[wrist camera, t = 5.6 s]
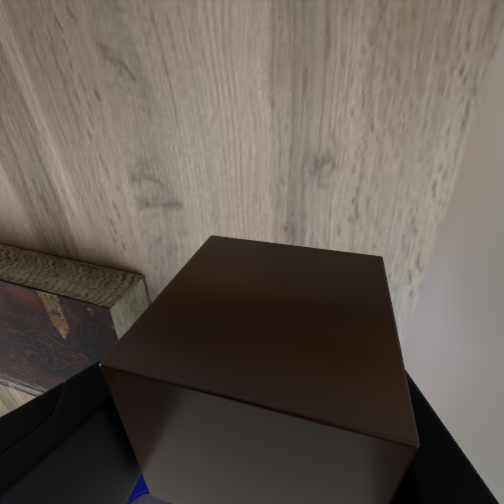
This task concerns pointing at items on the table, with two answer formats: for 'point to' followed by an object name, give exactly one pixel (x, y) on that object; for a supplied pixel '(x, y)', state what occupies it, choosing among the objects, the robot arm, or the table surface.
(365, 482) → the block
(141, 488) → the alarm clock
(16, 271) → the hardback book
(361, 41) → the table surface
